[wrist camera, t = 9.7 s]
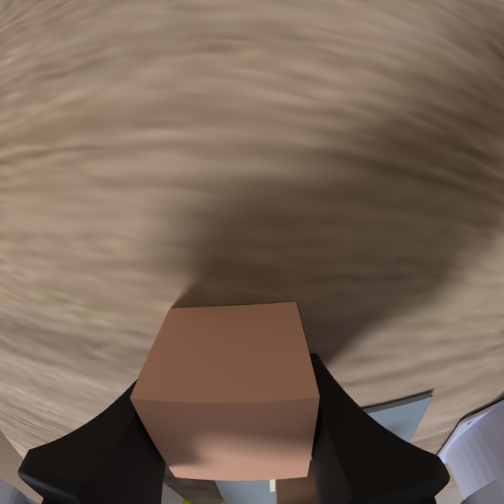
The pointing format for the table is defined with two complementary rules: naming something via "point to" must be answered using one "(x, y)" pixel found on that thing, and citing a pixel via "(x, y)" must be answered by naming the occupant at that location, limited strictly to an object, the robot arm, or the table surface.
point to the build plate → (263, 491)
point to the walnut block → (297, 489)
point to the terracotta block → (230, 393)
